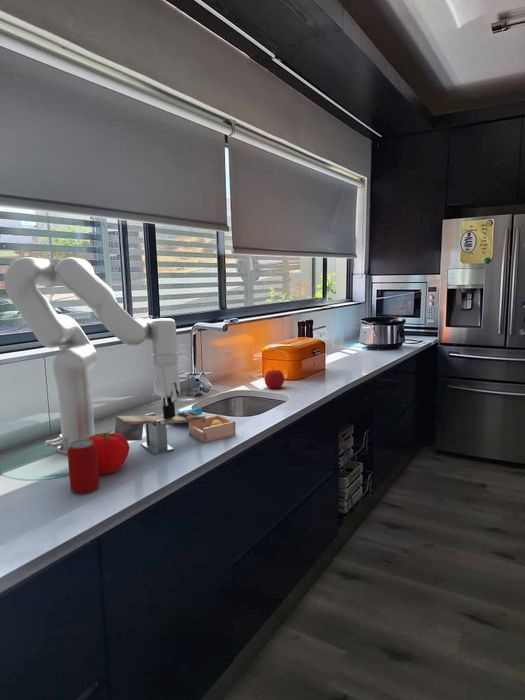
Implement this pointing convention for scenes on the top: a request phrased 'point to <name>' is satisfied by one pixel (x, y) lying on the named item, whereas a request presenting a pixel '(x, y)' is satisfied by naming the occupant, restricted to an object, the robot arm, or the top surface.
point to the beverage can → (83, 466)
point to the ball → (216, 422)
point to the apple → (274, 379)
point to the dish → (212, 429)
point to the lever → (134, 424)
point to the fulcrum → (156, 437)
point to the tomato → (110, 451)
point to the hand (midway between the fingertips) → (169, 417)
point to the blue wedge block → (198, 410)
